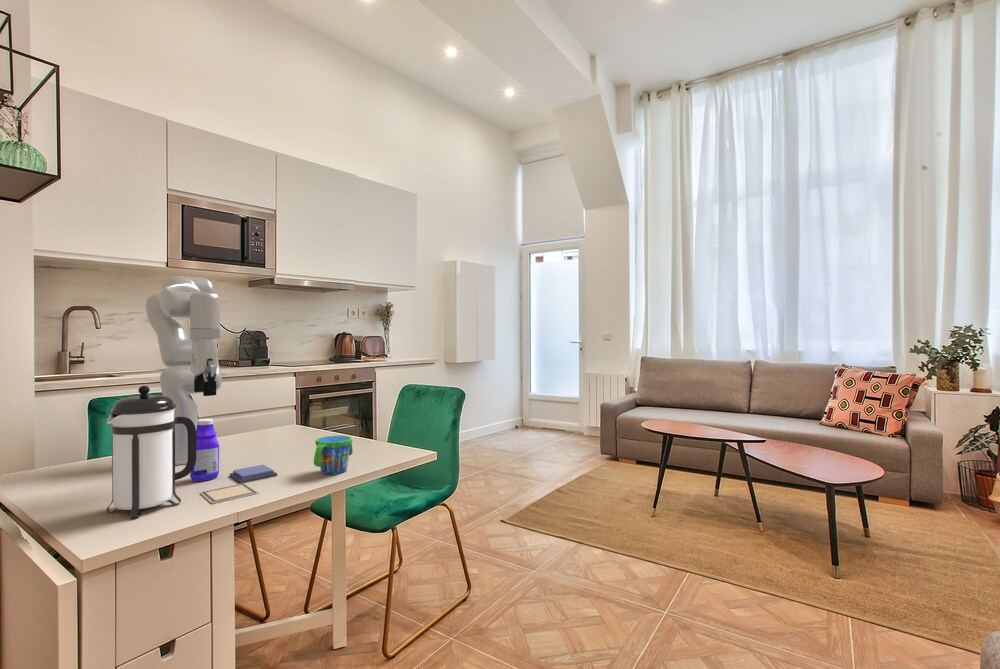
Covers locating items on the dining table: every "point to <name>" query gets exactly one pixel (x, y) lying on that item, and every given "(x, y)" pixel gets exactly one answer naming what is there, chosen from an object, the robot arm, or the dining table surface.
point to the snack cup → (333, 453)
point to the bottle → (206, 452)
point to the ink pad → (252, 473)
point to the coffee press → (146, 451)
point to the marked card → (228, 493)
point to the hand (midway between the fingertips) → (205, 393)
